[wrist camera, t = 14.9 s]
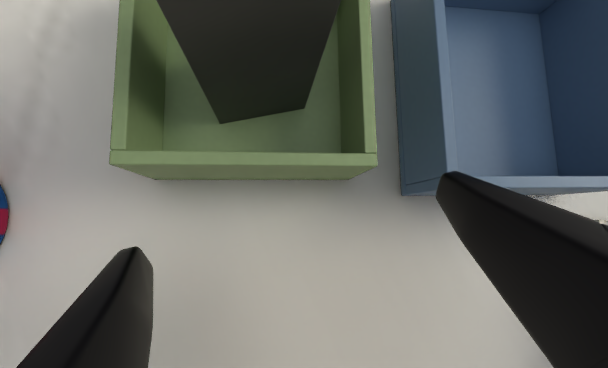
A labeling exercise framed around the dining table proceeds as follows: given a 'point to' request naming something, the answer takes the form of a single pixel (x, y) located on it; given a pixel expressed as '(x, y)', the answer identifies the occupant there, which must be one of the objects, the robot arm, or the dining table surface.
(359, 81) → the green bin
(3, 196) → the red cup
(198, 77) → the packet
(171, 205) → the dining table surface
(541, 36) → the blue bin
